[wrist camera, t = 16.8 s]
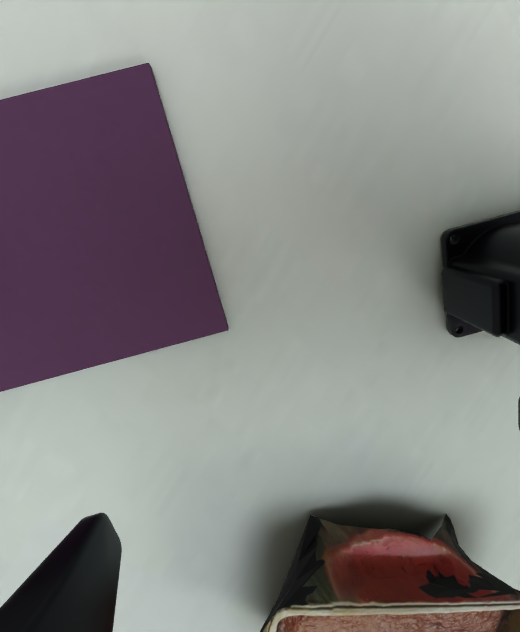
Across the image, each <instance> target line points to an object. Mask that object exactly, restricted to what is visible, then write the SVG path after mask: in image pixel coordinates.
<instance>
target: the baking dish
mask: <svg viewBox="0 0 520 632" xmlns="http://www.w3.org/2000/svg"><path fill="white" fill-rule="evenodd" d="M260 632H520V591H518V590H516V589H513V588H512V587H510V586H509V585H507V584H506V583H504V582H503V581H501V580H499V579H498V578H496V577H495V576H493V575H492V574H490V573H489V572H487V571H486V570H484V569H483V568H481V567H480V566H478V565H477V564H475V563H474V562H472V561H471V560H470V559H469V557H468V556H467V555H466V554H465V552H464V551H463V550H462V549H461V548H460V546H459V545H458V541H457V538H456V534H455V531H454V527H453V524H452V522H451V519H450V518H449V517H448V515H447V514H446V515H445V518H444V520H443V523H442V526H441V528H440V529H439V531H438V532H437V533H436V535H435V536H434V537H433V538H432V540H427V539H426V538H425V537H423V536H422V535H419V534H414V533H409V532H404V531H399V530H395V529H390V528H388V529H373V528H364V527H354V526H344V525H337V524H334V523H331V522H328V521H326V520H323V519H320V518H318V517H315V516H312V515H310V517H309V519H308V522H307V525H306V527H305V530H304V533H303V535H302V538H301V541H300V543H299V546H298V549H297V551H296V554H295V557H294V559H293V562H292V565H291V567H290V570H289V573H288V575H287V578H286V580H285V583H284V585H283V588H282V590H281V592H280V595H279V597H278V600H277V601H276V603H275V605H274V607H273V609H272V610H271V612H270V614H269V616H268V618H267V620H266V621H265V623H264V625H263V627H262V629H261V631H260Z"/></svg>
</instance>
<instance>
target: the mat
mask: <svg viewBox="0 0 520 632" xmlns="http://www.w3.org/2000/svg"><path fill="white" fill-rule="evenodd" d="M227 330H228V324H227V321H226V318H225V314H224V311H223V308H222V304H221V301H220V297H219V294H218V291H217V287H216V284H215V281H214V277H213V274H212V270H211V267H210V264H209V260H208V257H207V254H206V250H205V247H204V244H203V240H202V237H201V233H200V230H199V227H198V223H197V220H196V217H195V213H194V210H193V206H192V203H191V200H190V196H189V193H188V190H187V186H186V183H185V180H184V176H183V173H182V169H181V166H180V163H179V159H178V156H177V153H176V149H175V146H174V142H173V139H172V136H171V132H170V129H169V126H168V122H167V119H166V115H165V112H164V109H163V105H162V102H161V99H160V95H159V92H158V89H157V85H156V82H155V78H154V75H153V72H152V68H151V66H150V64H149V63H146V64H142V65H138V66H134V67H130V68H126V69H122V70H118V71H114V72H110V73H106V74H102V75H98V76H94V77H90V78H86V79H82V80H78V81H74V82H70V83H66V84H62V85H58V86H54V87H50V88H46V89H42V90H38V91H34V92H30V93H26V94H22V95H18V96H14V97H10V98H6V99H2V100H0V392H1V391H4V390H8V389H12V388H16V387H19V386H23V385H27V384H30V383H34V382H38V381H41V380H45V379H49V378H53V377H56V376H60V375H64V374H67V373H71V372H75V371H79V370H82V369H86V368H90V367H93V366H97V365H101V364H104V363H108V362H112V361H116V360H119V359H123V358H127V357H130V356H134V355H138V354H142V353H145V352H149V351H153V350H156V349H160V348H164V347H167V346H171V345H175V344H179V343H182V342H186V341H190V340H193V339H197V338H201V337H205V336H208V335H212V334H216V333H219V332H223V331H227Z"/></svg>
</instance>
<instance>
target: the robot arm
mask: <svg viewBox="0 0 520 632" xmlns="http://www.w3.org/2000/svg"><path fill="white" fill-rule="evenodd" d="M452 235H454V240H453V241H452V242H450V237H451V236H452ZM441 245H442V259H443V270H442V285H443V298H444V310H445V312H446V314H447V328H448V332H449V333H450V334H451V335H453V336H454V337H463V336H466V335H470V334H473V333H477V332H481V331H485V332H487V333H489V334H491V335H493V336H495V337H500V336H503V337H505V338H507V339H509V340H511V341H513V342H515V343H517V344H519V345H520V211H516V212H512V213H509V214H505V215H501V216H497V217H494V218H490V219H486V220H482V221H479V222H475V223H471V224H467V225H464V226H460V227H456V228H452V229H449V230H447V231H445V232H444V233H443V235H442V238H441ZM458 326H459V329H458V330H457V331H456V328H457V327H458ZM518 425H519V430H520V398H519V401H518ZM121 552H122V548H121V542H120V539H119V537H118V535H117V533H116V531H115V529H114V527H113V525H112V523H111V521H110V519H109V518H108V516H107V515H106V514H105V513H98V514H95V515H91V516H88V517H85V518H83V519H82V520H81V521H80V522H79V523H78V524H77V525H76V526H75V527H74V528H73V530H72V531H71V532H70V533H69V534H68V535H67V536H66V537H65V538H64V539H63V540H62V541H61V543H60V544H59V545H58V546H57V547H56V548H55V549H54V550H53V551H52V552H51V553H50V554H49V556H48V557H47V558H46V559H45V560H44V561H43V562H42V563H41V564H40V565H39V566H38V567H37V569H36V570H35V571H34V572H33V573H32V574H31V575H30V576H29V577H28V578H27V579H26V580H25V582H24V583H23V584H22V585H21V586H20V587H19V588H18V589H17V590H16V591H15V592H14V594H13V595H12V596H11V597H10V598H9V599H8V600H7V601H6V602H5V603H4V604H3V605H2V607H1V608H0V632H112V631H113V623H114V614H115V605H116V597H117V588H118V579H119V570H120V561H121Z"/></svg>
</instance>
